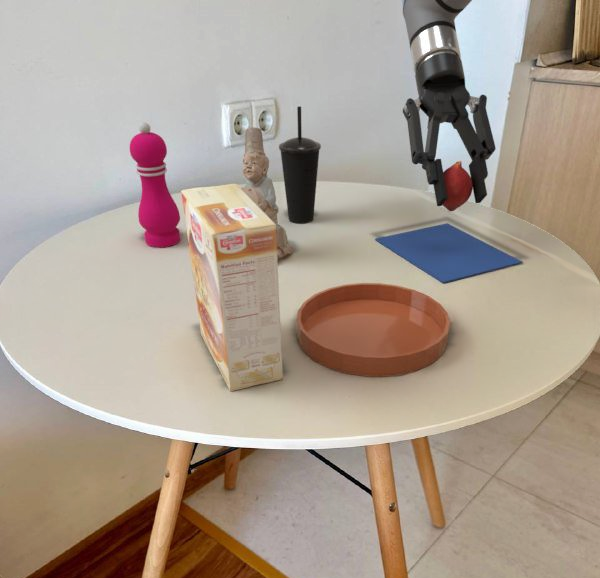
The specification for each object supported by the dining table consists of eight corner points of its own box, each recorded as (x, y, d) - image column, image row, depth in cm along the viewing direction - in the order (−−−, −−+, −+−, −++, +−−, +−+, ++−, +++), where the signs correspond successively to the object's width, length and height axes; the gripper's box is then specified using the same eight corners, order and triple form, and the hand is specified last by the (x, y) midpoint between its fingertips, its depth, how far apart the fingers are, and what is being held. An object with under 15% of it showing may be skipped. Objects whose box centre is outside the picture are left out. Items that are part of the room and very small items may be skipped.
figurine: (258, 242, 106) (251, 122, 94) (300, 250, 103) (297, 127, 91) (231, 260, 100) (219, 134, 88) (274, 270, 97) (268, 140, 85)
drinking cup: (302, 209, 120) (300, 100, 108) (328, 219, 115) (330, 106, 103) (273, 219, 116) (268, 107, 104) (299, 229, 111) (297, 113, 99)
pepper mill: (157, 231, 111) (138, 116, 99) (190, 236, 109) (175, 119, 97) (135, 245, 106) (111, 125, 94) (169, 251, 104) (149, 129, 92)
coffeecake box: (199, 333, 81) (179, 189, 69) (248, 323, 83) (237, 181, 71) (228, 393, 70) (210, 233, 58) (285, 380, 72) (278, 222, 60)
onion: (429, 214, 96) (435, 163, 92) (436, 203, 101) (442, 154, 96) (465, 219, 95) (473, 167, 90) (471, 207, 99) (479, 157, 94)
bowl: (478, 351, 76) (482, 332, 74) (343, 393, 69) (344, 373, 68) (392, 289, 91) (394, 272, 89) (273, 319, 84) (273, 301, 82)
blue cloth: (522, 263, 97) (522, 261, 97) (443, 283, 92) (443, 281, 92) (447, 224, 112) (447, 223, 112) (375, 240, 106) (375, 238, 106)
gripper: (482, 79, 101) (506, 207, 98) (376, 85, 98) (398, 215, 95) (502, 47, 94) (529, 184, 91) (388, 52, 91) (412, 193, 88)
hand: (461, 200), depth 93 cm, fingers closed on onion, 6 cm apart
